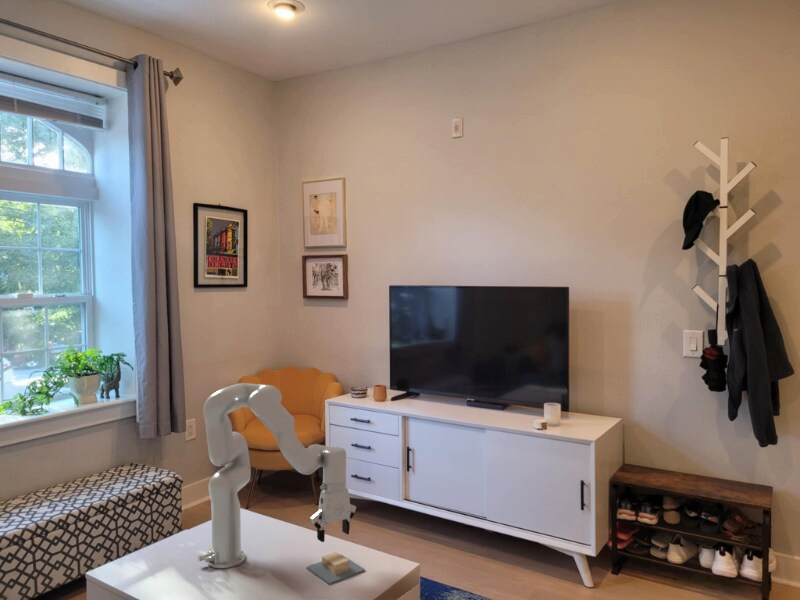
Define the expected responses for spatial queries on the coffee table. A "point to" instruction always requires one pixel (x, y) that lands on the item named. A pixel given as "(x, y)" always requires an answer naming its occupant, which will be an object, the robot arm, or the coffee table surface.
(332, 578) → the mat
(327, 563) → the light brown rectangular block
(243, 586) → the coffee table surface
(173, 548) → the coffee table surface
